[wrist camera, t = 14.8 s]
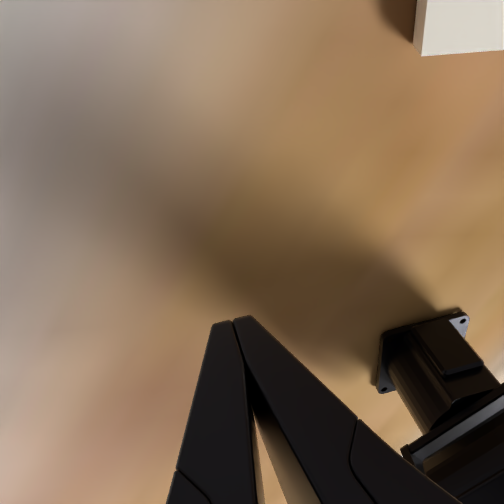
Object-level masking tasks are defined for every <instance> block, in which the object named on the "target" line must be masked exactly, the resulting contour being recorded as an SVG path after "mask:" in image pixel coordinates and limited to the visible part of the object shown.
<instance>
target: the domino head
mask: <svg viewBox="0 0 504 504" xmlns="http://www.w3.org/2000/svg"><path fill="white" fill-rule="evenodd" d="M413 46H414V47H415V49H416V50H417V51H418V53H419V54H420V55H421V56H431V55H444V54H457V53H469V52H482V51H495V50H504V0H417V8H416V18H415V28H414V38H413Z"/></svg>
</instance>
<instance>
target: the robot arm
mask: <svg viewBox="0 0 504 504" xmlns="http://www.w3.org/2000/svg"><path fill="white" fill-rule="evenodd" d="M468 323H469V316H468V315H467V314H466V313H465V312H459V313H455V314H452V315H448V316H444V317H440V318H436V319H432V320H428V321H424V322H420V323H417V324H413V325H409V326H405V327H401V328H397V329H393V330H389V331H386V332H384V333H383V334H382V335H381V338H380V348H379V359H378V369H377V380H376V389H377V391H378V393H380V394H384V393H388V392H391V391H395V390H397V392H398V394H399V395H400V397H401V399H402V400H403V402H404V404H405V405H406V407H407V409H408V410H409V412H410V414H411V416H412V417H413V419H414V421H415V422H416V424H417V426H418V427H419V429H420V431H421V432H422V434H423V436H421V437H420V438H418V439H417V440H415V441H414V442H412V443H410V444H409V445H408V444H406V445H405V446H403V447H402V448H400V451H401V453H402V456H403V457H402V456H401V455H399V454H398V453H397V452H396V451H395V450H393V449H392V448H391V447H390V446H389V445H388V444H387V443H386V442H384V441H383V440H382V439H381V438H380V437H379V436H378V435H377V434H376V433H374V432H373V431H372V430H371V429H370V428H369V427H368V426H367V425H366V424H365V423H364V422H363V421H362V420H361V419H358V417H357V416H356V415H355V414H354V413H353V412H352V411H351V410H350V409H349V408H348V407H347V406H346V405H345V404H344V403H343V402H342V401H341V400H340V399H339V398H338V397H337V396H335V395H334V394H333V393H332V392H331V391H330V390H329V389H328V388H327V387H326V386H325V385H324V384H323V383H322V382H321V381H320V380H319V379H318V378H317V377H316V376H315V375H313V374H312V373H311V372H310V371H309V370H308V369H307V368H306V367H305V366H304V365H303V364H302V363H301V362H300V361H299V360H298V359H297V358H296V357H295V356H294V355H293V354H291V353H290V352H289V351H288V350H287V349H286V348H285V347H284V346H283V345H282V344H281V343H280V342H279V341H278V340H277V339H276V338H275V337H274V336H273V335H272V334H271V333H269V332H268V331H267V330H266V329H265V328H264V327H263V326H262V325H261V324H260V323H259V322H258V321H257V320H256V319H255V318H254V317H252V316H251V315H247V316H243V317H239V318H235V319H234V320H233V322H232V321H230V320H227V321H222V322H218V323H215V324H213V325H212V327H211V331H210V335H209V339H208V342H207V346H206V350H205V354H204V358H203V362H202V366H201V370H200V374H199V378H198V382H197V386H196V389H195V393H194V397H193V401H192V405H191V409H190V413H189V417H188V421H187V425H186V429H185V433H184V436H183V440H182V444H181V448H180V452H179V456H178V460H177V464H176V470H177V471H175V472H174V475H173V479H172V482H171V486H170V490H169V494H168V497H167V501H166V504H265V498H264V490H263V482H262V474H261V466H260V458H259V450H258V442H257V434H256V427H255V420H256V423H257V426H258V429H259V432H260V434H261V437H262V439H263V442H264V444H265V447H266V450H267V452H268V455H269V457H270V460H271V462H272V465H273V468H274V470H275V473H276V475H277V478H278V480H279V483H280V485H281V488H282V491H283V493H284V496H285V498H286V501H287V503H288V504H504V383H502V384H500V383H499V381H498V380H497V379H496V378H495V377H494V376H493V374H492V373H491V372H490V371H489V370H488V368H487V367H486V366H485V365H484V362H483V360H482V359H481V358H480V356H479V355H478V354H477V353H476V352H475V351H474V349H473V348H472V347H471V346H470V345H469V343H468V342H467V341H466V340H465V335H466V331H467V327H468ZM253 414H254V415H253ZM254 417H255V420H254Z"/></svg>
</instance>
